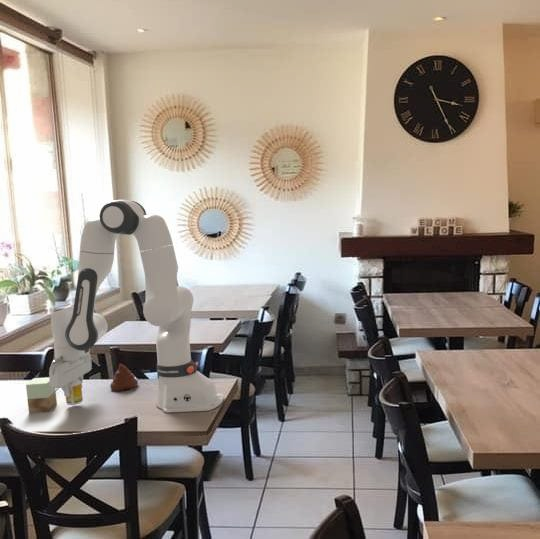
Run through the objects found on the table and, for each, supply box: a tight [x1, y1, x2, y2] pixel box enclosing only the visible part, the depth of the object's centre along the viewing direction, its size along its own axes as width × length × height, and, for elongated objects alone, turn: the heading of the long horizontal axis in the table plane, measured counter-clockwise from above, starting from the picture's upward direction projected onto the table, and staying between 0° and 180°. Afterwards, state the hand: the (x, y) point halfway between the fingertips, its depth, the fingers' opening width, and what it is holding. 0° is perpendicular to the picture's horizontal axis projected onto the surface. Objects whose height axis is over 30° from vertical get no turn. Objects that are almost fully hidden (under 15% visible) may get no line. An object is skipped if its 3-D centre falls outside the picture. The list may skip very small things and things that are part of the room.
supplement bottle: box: [65, 375, 84, 406], centre depth 197 cm, size 5×5×10 cm
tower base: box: [27, 390, 58, 414], centre depth 198 cm, size 7×7×5 cm
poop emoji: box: [109, 363, 139, 392], centre depth 215 cm, size 10×8×9 cm
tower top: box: [25, 376, 56, 399], centre depth 197 cm, size 7×7×5 cm
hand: (73, 392), depth 197 cm, fingers closed on supplement bottle, 5 cm apart
